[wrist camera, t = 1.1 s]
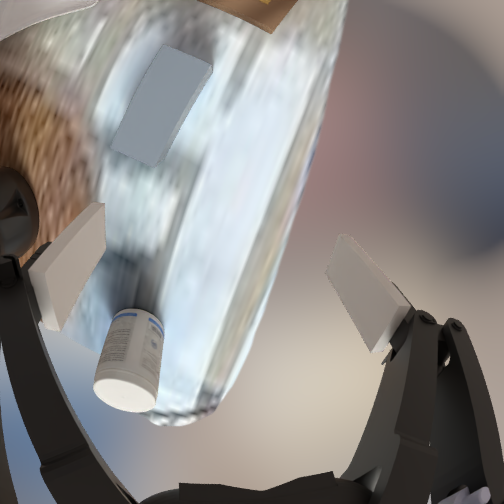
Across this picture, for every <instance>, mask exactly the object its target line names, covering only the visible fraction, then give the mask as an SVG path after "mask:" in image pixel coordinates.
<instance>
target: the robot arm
mask: <svg viewBox="0 0 504 504" xmlns="http://www.w3.org/2000/svg"><path fill="white" fill-rule="evenodd" d="M38 229H39V215H38V209H37V204H36V201H35V198H34V195H33V193H32V191H31V189H30V187H29V185H28V184H27V182H26V181H25V180H24V178H23V177H22V176H21V175H20V174H19V173H18V172H16V171H15V170H13V169H11V168H8V167H0V348H1V343H2V347H3V353H4V357H5V362H6V366H7V370H8V374H9V378H10V382H11V385H12V388H13V392H14V395H15V399H16V402H17V404H18V408H19V410H20V413H21V416H22V419H23V422H24V424H25V427H26V429H27V432H28V434H29V437H30V439H31V441H32V444H33V446H34V448H35V450H36V453H37V454H38V457H39V459H40V461H41V467H40V472H41V475H42V478H43V480H44V482H45V484H46V485H47V487H48V489H49V491H50V492H51V494H52V496H53V498H54V499H55V501H56V502H57V504H427V502H428V499H429V495H430V494H431V504H504V462H503V456H502V449H501V443H500V438H499V432H498V428H497V423H496V419H495V414H494V410H493V407H492V403H491V399H490V395H489V392H488V389H487V385H486V382H485V379H484V376H483V373H482V370H481V367H480V364H479V362H478V359H477V356H476V353H475V350H474V348H473V345H472V343H471V340H470V338H469V335H468V333H467V331H466V329H465V327H464V325H463V324H462V323H461V322H460V321H459V320H456V319H454V318H449V319H448V320H447V321H446V323H445V324H444V326H443V325H439V324H437V322H436V320H435V319H434V317H433V316H432V315H430V314H429V313H427V312H425V311H423V310H417V311H416V310H415V308H414V307H413V306H412V305H411V303H410V302H409V301H408V300H407V299H406V297H405V296H404V295H403V293H402V292H401V291H400V290H399V289H398V287H397V286H396V285H395V284H394V283H393V282H391V281H390V280H389V278H388V277H387V276H386V275H385V274H384V273H383V271H382V270H381V269H380V268H379V267H378V266H377V265H376V263H375V262H374V261H373V260H372V259H371V258H370V257H369V255H368V254H367V253H366V252H365V251H364V250H363V249H362V248H361V247H360V245H359V244H358V243H357V242H356V241H355V240H354V239H353V238H352V237H351V236H350V235H345V234H339V236H338V239H337V242H336V245H335V248H334V250H333V253H332V256H331V258H330V261H329V264H328V267H327V270H326V272H325V274H326V276H327V278H328V279H329V281H330V282H331V284H332V286H333V287H334V289H335V290H336V293H337V294H338V296H339V298H340V299H341V301H342V303H343V305H344V306H345V308H346V310H347V312H348V313H349V315H350V317H351V318H352V320H353V322H354V324H355V325H356V327H357V329H358V331H359V333H360V334H361V336H362V338H363V340H364V341H365V343H366V345H367V347H368V349H369V351H370V353H373V352H383V351H384V349H385V348H386V346H387V345H388V343H389V342H390V344H391V345H392V347H393V348H392V349H391V350H390V352H389V353H388V355H387V356H386V358H385V359H384V360H383V362H382V365H383V364H384V363H385V362H386V365H385V369H384V373H383V377H382V380H381V383H380V387H379V390H378V393H377V396H376V399H375V402H374V405H373V408H372V411H371V414H370V417H369V419H368V422H367V425H366V427H365V430H364V433H363V435H362V438H361V441H360V443H359V445H358V448H357V450H356V452H355V455H354V457H353V459H352V462H351V464H350V465H349V467H348V469H347V470H346V471H345V472H344V473H343V474H342V476H341V477H340V478H335V477H334V474H333V471H330V472H326V473H321V474H316V475H311V476H306V477H300V478H297V479H295V480H292V481H290V482H287V483H284V484H282V485H279V486H276V487H274V488H271V489H268V490H265V491H257V490H250V489H243V488H237V487H232V486H226V485H221V484H189V483H179V489H173V490H168V491H164V492H161V493H158V494H155V495H153V496H151V497H149V498H147V499H145V500H143V501H142V502H140V503H138V502H137V501H136V500H135V499H134V498H133V497H132V495H131V494H130V493H129V492H128V490H127V489H126V488H125V487H124V486H123V484H122V483H121V482H120V481H119V480H118V478H117V477H116V476H115V475H114V473H113V472H112V471H111V469H110V468H109V466H108V465H107V464H106V462H105V461H104V459H103V458H102V457H101V455H100V453H99V452H98V450H97V449H96V447H95V446H94V444H93V443H92V441H91V439H90V438H89V436H88V434H87V433H86V431H85V429H84V428H83V426H82V424H81V422H80V421H79V419H78V417H77V415H76V413H75V411H74V409H73V408H72V406H71V404H70V402H69V400H68V398H67V396H66V394H65V391H64V389H63V387H62V385H61V383H60V381H59V379H58V376H57V374H56V372H55V369H54V367H53V364H52V362H51V359H50V357H49V354H48V352H47V349H46V347H45V343H44V341H43V338H42V335H41V332H40V329H39V326H38V323H39V321H40V319H41V318H42V320H43V323H44V326H45V328H47V329H50V330H55V331H59V332H61V330H62V328H63V326H64V324H65V322H66V320H67V318H68V316H69V314H70V312H71V310H72V308H73V306H74V304H75V302H76V300H77V298H78V297H79V295H80V293H81V291H82V289H83V287H84V286H85V284H86V282H87V280H88V279H89V277H90V275H91V273H92V272H93V270H94V268H95V267H96V265H97V263H98V262H99V260H100V258H101V257H102V255H103V253H104V252H105V250H106V238H105V203H96V202H92V203H91V204H90V205H89V206H88V207H87V208H86V209H84V210H83V211H82V212H81V213H80V214H79V215H78V216H77V217H76V218H75V219H74V220H73V221H72V222H71V223H70V224H69V225H68V226H67V227H66V228H65V229H64V230H63V231H62V233H61V234H60V235H59V236H58V237H57V238H56V239H55V240H54V241H53V242H47V243H45V244H44V245H42V246H40V247H39V248H38V249H37V251H36V252H35V254H33V255H32V256H31V257H30V259H28V261H27V262H26V263H25V264H24V265H23V266H22V268H20V263H19V259H18V258H20V257H22V256H23V255H24V254H25V253H26V252H27V251H28V250H29V249H30V248H31V247H32V246H33V244H34V243H35V241H36V238H37V235H38ZM449 356H450V361H449V364H448V365H447V366H445V362H446V360H447V359H448V358H449ZM429 442H430V446H429ZM0 504H18V501H17V497H16V493H15V490H14V486H13V482H12V478H11V474H10V470H9V465H8V460H7V455H6V450H5V443H4V436H3V429H2V419H1V407H0Z"/></svg>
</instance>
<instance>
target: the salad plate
mask: <svg viewBox="0 0 504 504" xmlns="http://www.w3.org/2000/svg"><path fill="white" fill-rule="evenodd" d="M98 2H99V0H0V41H2V40H4V39H5V38H7V37H9V36H11V35H13V34H15V33H16V32H18V31H20V30H23V29H25V28H27V27H29V26H32V25H34V24H37V23H39V22H42V21H45V20H48V19H51V18H54V17H57V16H61V15H64V14H68V13H72V12H76V11H80V10H84V9H87V8H90V7H93V6H94V5H96V4H97V3H98Z"/></svg>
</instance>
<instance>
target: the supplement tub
mask: <svg viewBox="0 0 504 504" xmlns="http://www.w3.org/2000/svg"><path fill="white" fill-rule="evenodd" d="M163 343H164V328H163V326H162V324H161V322H160V321H159V320H158V319H157V318H156V317H155V316H154V315H152V314H150V313H149V312H147V311H144V310H140V309H124V310H122V311H120V312H118V313H117V314H116V315H115V316H114V318H113V319H112V322H111V325H110V328H109V331H108V334H107V337H106V340H105V343H104V346H103V349H102V353H101V356H100V359H99V363H98V366H97V370H96V373H95V378H94V386H93V388H94V391H95V393H96V395H97V396H98V397H99V398H100V399H101V400H102V401H104V402H105V403H107V404H109V405H110V406H112V407H115V408H118V409H121V410H124V411H129V412H145V411H148V410H151V409H152V408H153V407H154V406H155V404H156V399H157V395H158V386H159V376H160V367H161V359H162V350H163Z"/></svg>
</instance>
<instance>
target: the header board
mask: <svg viewBox="0 0 504 504" xmlns="http://www.w3.org/2000/svg"><path fill="white" fill-rule="evenodd" d="M197 1H200V2H203V3H205V4H208V5H210V6H213V7H215V8H218V9H220V10H222V11H225V12H227V13H229V14H232V15H234V16H236V17H238V18H240V19H242V20H245V21H247V22H249V23H251V24H253V25H255V26H257V27H259V28H260V29H262V30H264V31H266V32H268V33H270V34H272V33H273V31H274V30H275V29H276V27H277V26H278V25H279V24H280V22H281V21H282V20H283V18H284V17H285V16H286V14H287V13H288V12H289V11H290V9H291V8H292V7H293V6H294V4H295V3H296V2H297V1H298V0H197Z"/></svg>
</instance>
